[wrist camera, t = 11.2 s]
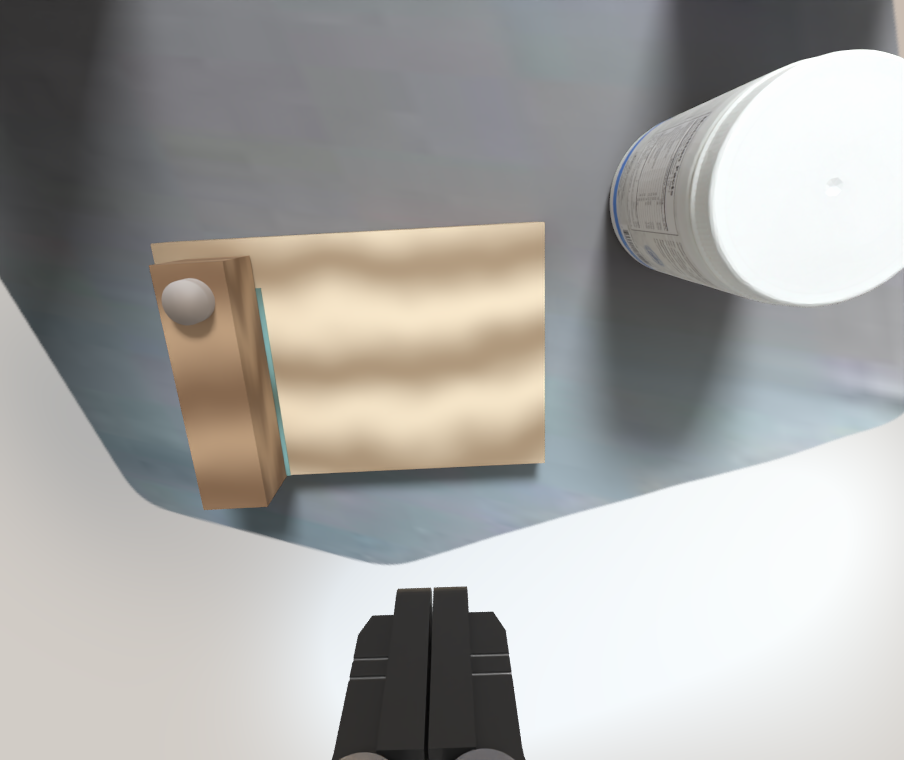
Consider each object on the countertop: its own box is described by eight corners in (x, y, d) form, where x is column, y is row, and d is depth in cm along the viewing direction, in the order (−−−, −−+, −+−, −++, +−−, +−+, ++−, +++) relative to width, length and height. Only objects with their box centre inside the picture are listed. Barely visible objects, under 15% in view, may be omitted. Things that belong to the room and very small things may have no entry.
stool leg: (184, 259, 32) (138, 267, 28) (249, 255, 32) (214, 262, 28) (229, 479, 37) (196, 518, 32) (286, 476, 37) (261, 515, 32)
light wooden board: (171, 241, 35) (149, 244, 32) (538, 221, 34) (544, 222, 32) (216, 463, 39) (200, 479, 37) (538, 447, 39) (544, 463, 37)
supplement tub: (774, 126, 33) (1018, 60, 19) (732, 281, 35) (916, 325, 21) (620, 106, 32) (749, 23, 18) (590, 263, 35) (681, 297, 21)
